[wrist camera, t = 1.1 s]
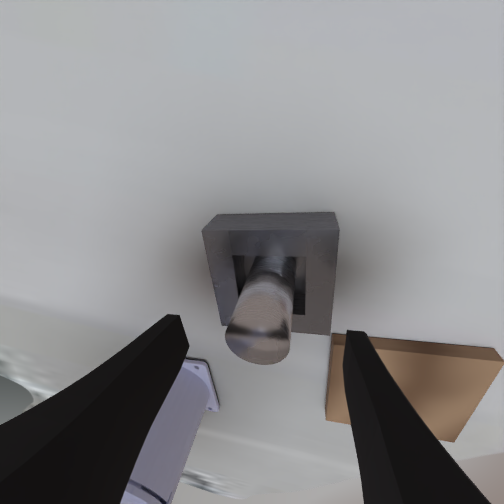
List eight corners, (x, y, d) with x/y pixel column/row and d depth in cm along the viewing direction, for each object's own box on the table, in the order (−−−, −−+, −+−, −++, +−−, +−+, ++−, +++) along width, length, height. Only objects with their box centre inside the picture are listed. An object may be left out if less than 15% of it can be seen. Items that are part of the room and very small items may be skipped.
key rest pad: (325, 408, 22) (325, 420, 21) (332, 333, 17) (333, 344, 16) (447, 428, 20) (453, 442, 19) (494, 348, 15) (505, 362, 14)
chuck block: (232, 301, 18) (221, 325, 16) (217, 214, 15) (201, 230, 12) (327, 307, 16) (329, 335, 14) (334, 212, 13) (339, 229, 11)
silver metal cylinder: (255, 284, 16) (229, 360, 11) (251, 248, 15) (220, 315, 10) (296, 286, 15) (290, 368, 10) (296, 248, 14) (289, 321, 9)
